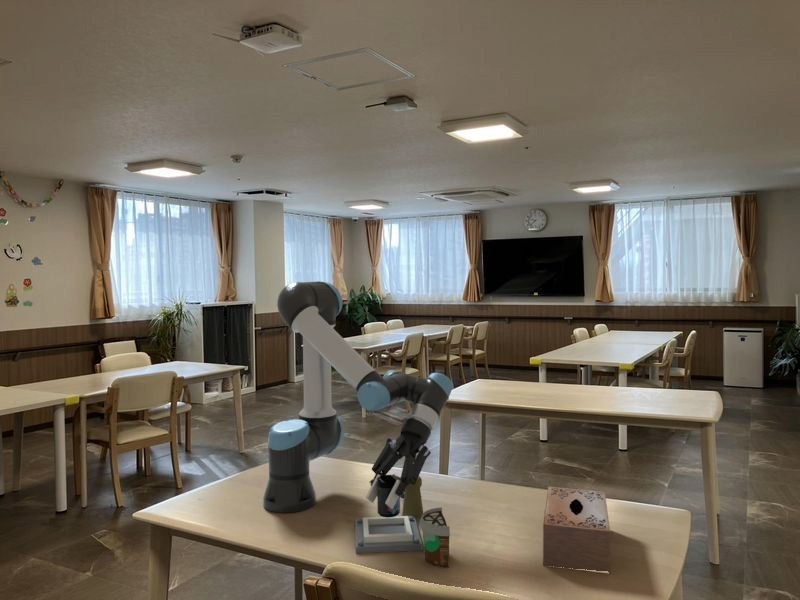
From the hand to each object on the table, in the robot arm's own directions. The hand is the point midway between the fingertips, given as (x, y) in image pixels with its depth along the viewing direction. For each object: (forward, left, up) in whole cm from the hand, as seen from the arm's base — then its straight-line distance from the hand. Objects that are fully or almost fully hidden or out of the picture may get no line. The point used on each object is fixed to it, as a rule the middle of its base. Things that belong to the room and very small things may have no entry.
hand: (379, 502), depth 152 cm
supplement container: (-3, +3, -4) cm, 5 cm away
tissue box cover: (+6, +48, -11) cm, 50 cm away
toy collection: (-36, +7, -11) cm, 38 cm away
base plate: (-3, +2, -10) cm, 11 cm away
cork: (-17, +10, -10) cm, 22 cm away
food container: (+10, +12, -10) cm, 19 cm away
